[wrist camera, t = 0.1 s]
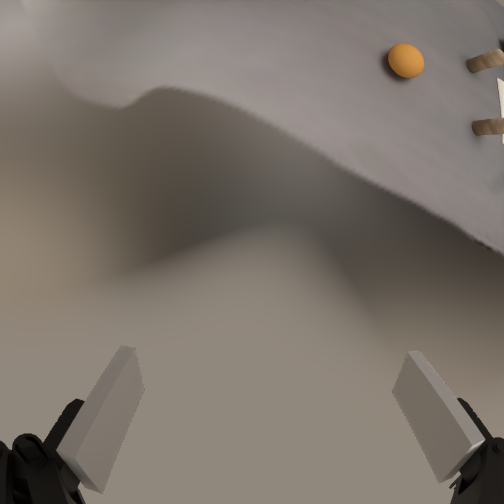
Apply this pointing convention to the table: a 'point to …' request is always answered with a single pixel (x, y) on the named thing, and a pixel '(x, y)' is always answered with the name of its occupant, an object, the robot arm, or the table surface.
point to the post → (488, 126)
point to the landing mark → (501, 100)
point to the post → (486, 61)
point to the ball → (406, 60)
